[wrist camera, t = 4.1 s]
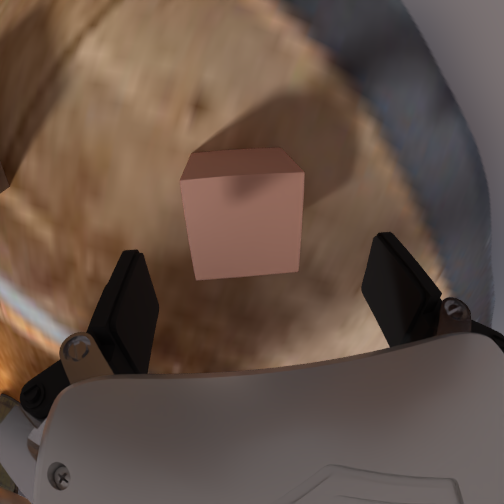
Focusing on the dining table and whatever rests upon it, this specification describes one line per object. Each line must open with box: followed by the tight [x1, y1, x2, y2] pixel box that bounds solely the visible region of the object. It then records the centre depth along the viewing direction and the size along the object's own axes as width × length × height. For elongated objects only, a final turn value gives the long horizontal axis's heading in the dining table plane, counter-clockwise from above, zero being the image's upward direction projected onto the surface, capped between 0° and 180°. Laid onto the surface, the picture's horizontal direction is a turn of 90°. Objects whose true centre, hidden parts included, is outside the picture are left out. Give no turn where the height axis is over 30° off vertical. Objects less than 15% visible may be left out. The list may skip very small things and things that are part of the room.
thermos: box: [0, 394, 21, 494], centre depth 24 cm, size 9×12×35 cm
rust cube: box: [180, 147, 305, 280], centre depth 17 cm, size 6×6×6 cm
